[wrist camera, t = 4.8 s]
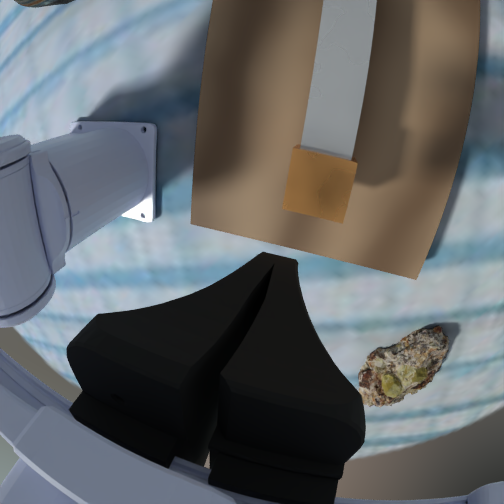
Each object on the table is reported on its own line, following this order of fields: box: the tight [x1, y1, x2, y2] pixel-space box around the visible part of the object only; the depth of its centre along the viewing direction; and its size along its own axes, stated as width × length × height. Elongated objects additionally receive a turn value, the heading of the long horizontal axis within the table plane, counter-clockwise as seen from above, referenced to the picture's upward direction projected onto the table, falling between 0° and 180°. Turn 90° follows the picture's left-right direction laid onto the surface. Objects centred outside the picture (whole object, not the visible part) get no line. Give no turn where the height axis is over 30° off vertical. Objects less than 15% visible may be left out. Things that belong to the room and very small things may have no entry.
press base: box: [191, 0, 480, 280], centre depth 12 cm, size 16×23×7 cm
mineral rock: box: [358, 326, 449, 407], centre depth 23 cm, size 11×4×8 cm
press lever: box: [282, 0, 377, 224], centre depth 11 cm, size 3×17×2 cm, turn 172°
